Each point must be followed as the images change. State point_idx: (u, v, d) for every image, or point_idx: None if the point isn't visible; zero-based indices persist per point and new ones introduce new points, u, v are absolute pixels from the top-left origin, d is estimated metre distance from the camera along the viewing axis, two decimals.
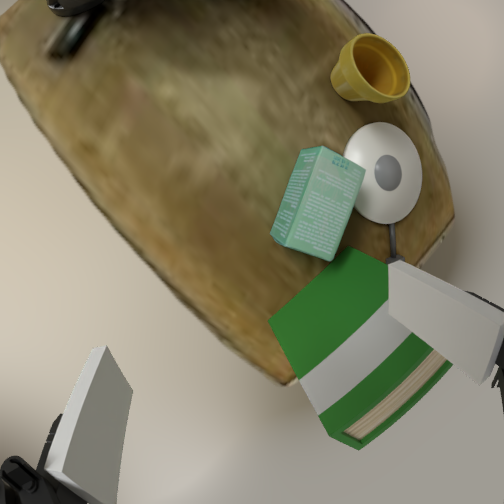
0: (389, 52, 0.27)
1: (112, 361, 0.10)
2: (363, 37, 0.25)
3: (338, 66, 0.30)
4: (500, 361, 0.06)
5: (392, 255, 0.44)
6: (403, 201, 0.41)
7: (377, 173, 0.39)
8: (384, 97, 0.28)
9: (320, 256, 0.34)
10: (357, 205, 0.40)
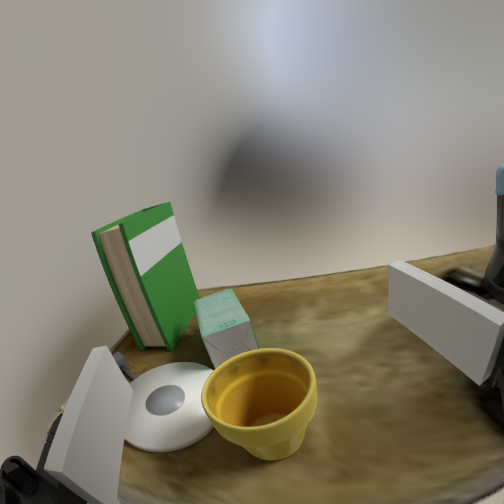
0: None
1: (112, 361, 0.10)
2: None
3: None
4: (500, 361, 0.06)
5: (124, 366, 0.42)
6: (133, 394, 0.34)
7: (178, 390, 0.34)
8: None
9: (204, 297, 0.48)
10: (183, 362, 0.40)
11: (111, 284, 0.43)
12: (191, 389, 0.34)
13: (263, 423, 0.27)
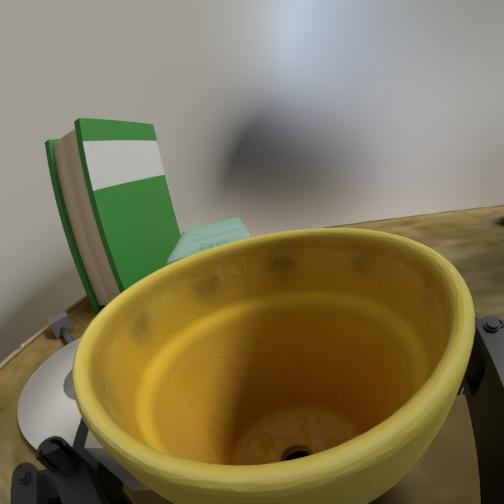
0: None
1: None
2: (445, 295, 0.05)
3: None
4: None
5: (66, 328, 0.27)
6: (57, 364, 0.19)
7: None
8: None
9: (197, 227, 0.33)
10: None
11: (60, 210, 0.28)
12: None
13: (274, 430, 0.11)
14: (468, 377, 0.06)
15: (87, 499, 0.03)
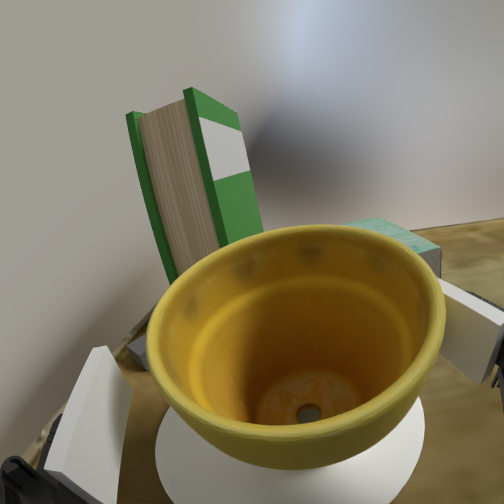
0: None
1: (112, 361, 0.10)
2: (428, 315, 0.07)
3: None
4: (500, 361, 0.06)
5: None
6: None
7: None
8: None
9: None
10: None
11: (148, 203, 0.25)
12: None
13: (293, 388, 0.15)
14: None
15: None
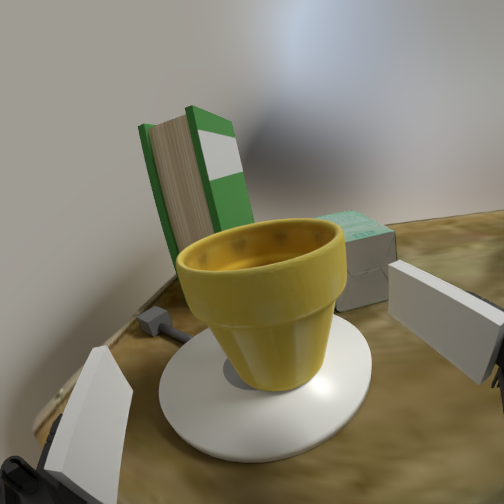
0: None
1: (112, 361, 0.10)
2: None
3: None
4: (500, 361, 0.06)
5: (166, 325, 0.30)
6: (193, 362, 0.22)
7: None
8: None
9: None
10: None
11: (157, 199, 0.31)
12: None
13: None
14: None
15: None
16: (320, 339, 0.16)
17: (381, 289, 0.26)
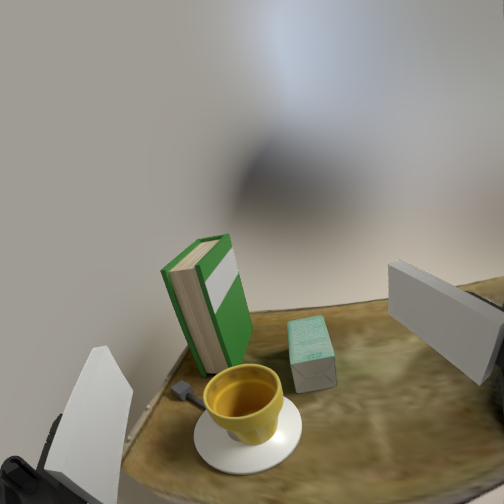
0: None
1: (112, 361, 0.10)
2: None
3: None
4: (500, 361, 0.06)
5: (190, 394, 0.46)
6: (211, 423, 0.38)
7: None
8: None
9: (296, 320, 0.52)
10: None
11: (180, 319, 0.47)
12: None
13: None
14: None
15: None
16: (270, 428, 0.31)
17: (325, 383, 0.41)
